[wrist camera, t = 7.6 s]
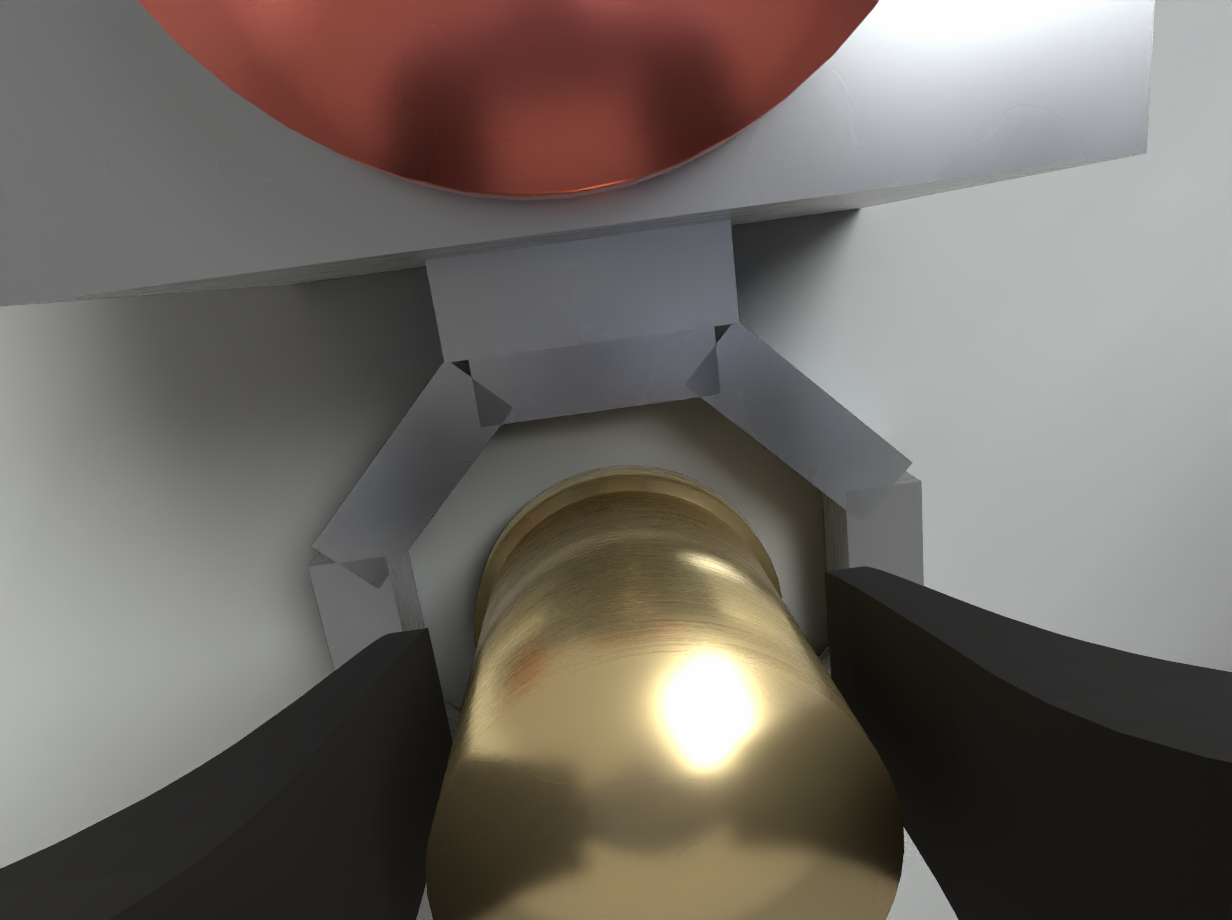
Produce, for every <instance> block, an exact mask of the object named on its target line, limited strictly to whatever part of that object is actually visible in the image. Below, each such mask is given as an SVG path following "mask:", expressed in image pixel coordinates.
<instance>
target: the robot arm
mask: <svg viewBox="0 0 1232 920" xmlns="http://www.w3.org/2000/svg"><path fill="white" fill-rule="evenodd" d="M825 583H826V599H827V616H828V633H829V650H830V666H831V679H832V680H833V682H834V684H835V685H836V687H837V688H838V690H839V692H840V693H841V695H842V696H843V698H844V700H845V701H846V703H847V704H848V706H849V708H850V709H851V711H852V712H853V714H854V716H855V717H856V719H857V720H858V722H859V724H860V725H861V727H862V728H863V730H864V732H865V733H866V735H867V736H868V738H869V740H870V741H871V743H872V744H873V746H874V748H875V749H876V751H877V753H878V754H879V756H880V758H881V760H882V762H883V763H884V765H885V767H886V769H887V771H888V772H889V774H890V777H891V780H892V783H893V785H894V788H895V791H896V794H897V796H898V799H899V805H900V810H901V815H902V820H903V826H904V828H905V830H906V831H907V833H908V834H909V836H910V838H911V839H912V841H913V843H914V844H915V846H916V847H917V849H918V851H919V852H920V854H921V856H922V857H923V859H924V860H925V862H926V864H927V865H928V867H929V869H930V870H931V872H932V873H933V875H934V877H935V878H936V880H937V882H938V883H939V885H940V887H941V889H942V890H943V892H944V894H945V896H946V898H947V899H948V901H949V903H950V905H951V907H952V908H953V910H954V912H955V914H956V915H957V917H958V919H959V920H1232V672H1227V671H1221V670H1216V669H1210V668H1204V667H1199V666H1193V665H1188V664H1182V663H1177V662H1171V661H1166V660H1161V659H1157V658H1152V657H1147V656H1142V655H1138V654H1133V653H1129V652H1125V651H1121V650H1117V649H1113V648H1109V647H1105V646H1101V645H1097V644H1094V643H1090V642H1086V641H1082V640H1078V639H1074V638H1071V637H1067V636H1064V635H1060V634H1057V633H1053V632H1050V631H1047V630H1044V629H1041V628H1038V627H1035V626H1032V625H1029V624H1026V623H1022V622H1019V621H1016V620H1013V619H1010V618H1007V617H1004V616H1001V615H999V614H996V613H993V612H990V611H987V610H985V609H982V608H979V607H977V606H974V605H971V604H969V603H966V602H963V601H961V600H958V599H955V598H953V597H950V596H948V595H945V594H943V593H940V592H938V591H935V590H932V589H930V588H927V587H925V586H922V585H920V584H917V583H915V582H912V581H910V580H907V579H904V578H902V577H899V576H896V575H894V574H891V573H888V572H885V571H882V570H879V569H876V568H872V567H868V566H862V567H855V568H848V569H840V570H833V571H826V572H825ZM452 744H453V741H452V736H451V732H450V727H449V722H448V718H447V713H446V708H445V704H444V699H443V695H442V690H441V685H440V681H439V676H438V672H437V667H436V662H435V658H434V653H433V649H432V644H431V639H430V635H429V630H428V628H424V629H417V630H410V631H402V632H395V633H388V634H386V635H384V636H382V637H380V638H379V639H377V640H376V641H374V642H373V643H371V644H370V645H368V646H367V647H366V648H364V649H363V650H361V651H360V652H359V653H357V654H356V655H355V656H353V657H352V658H351V659H350V660H348V661H347V662H346V663H344V664H343V665H342V666H340V667H339V668H338V669H337V670H335V671H334V672H333V673H331V674H330V675H329V676H328V677H326V678H325V679H324V680H322V681H321V682H320V683H318V684H317V685H316V686H314V687H313V688H312V689H311V690H309V691H308V692H307V693H305V694H304V695H303V696H301V697H300V698H299V699H298V700H296V701H295V702H294V703H292V704H291V705H289V706H288V707H286V708H285V709H284V710H282V711H281V712H279V713H278V714H277V715H275V716H274V717H272V718H271V719H270V720H268V721H267V722H265V723H264V724H263V725H261V726H260V727H258V728H257V729H255V730H254V731H253V732H251V733H250V734H248V735H247V736H246V737H244V738H243V739H241V740H240V741H239V742H237V743H236V744H234V745H233V746H231V747H230V748H228V749H226V750H225V751H223V752H222V753H220V754H219V755H217V756H216V757H214V758H212V759H211V760H209V761H208V762H206V763H205V764H203V765H201V766H200V767H198V768H196V769H195V770H193V771H191V772H190V773H188V774H186V775H184V776H183V777H181V778H179V779H178V780H176V781H174V782H173V783H171V784H169V785H168V786H166V787H164V788H163V789H161V790H159V791H157V792H155V793H154V794H152V795H150V796H148V797H146V798H145V799H143V800H141V801H139V802H137V803H135V804H133V805H131V806H129V807H127V808H125V809H123V810H121V811H119V812H117V813H115V814H113V815H111V816H109V817H108V818H106V819H104V820H102V821H100V822H98V823H96V824H94V825H92V826H90V827H88V828H86V829H84V830H82V831H80V832H78V833H76V834H74V835H72V836H71V837H69V838H67V839H65V840H63V841H60V842H58V843H56V844H54V845H52V846H50V847H48V848H46V849H43V850H41V851H39V852H37V853H34V854H32V855H30V856H28V857H26V858H23V859H21V860H19V861H17V862H15V863H12V864H10V865H8V866H6V867H4V868H1V869H0V920H416V918H417V915H418V911H419V907H420V904H421V900H422V896H423V893H424V889H425V885H426V858H427V847H428V840H429V836H430V832H431V828H432V824H433V820H434V816H435V812H436V808H437V804H438V800H439V796H440V792H441V788H442V784H443V780H444V776H445V772H446V768H447V764H448V760H449V756H450V752H451V748H452Z"/></svg>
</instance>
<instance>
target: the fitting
mask: <svg viewBox="0 0 1232 920" xmlns="http://www.w3.org/2000/svg"><path fill="white" fill-rule="evenodd" d="M474 635H475V644H476V653H475V657H474V661H473V665H472V669H471V673H470V677H469V681H468V685H467V689H466V693H465V697H464V701H463V705H462V709H461V713H460V717H459V721H458V725H457V729H456V733H455V736H454V740H453V744H452V748H451V752H450V756H449V760H448V764H447V768H446V772H445V776H444V780H443V784H442V788H441V792H440V796H439V800H438V804H437V808H436V812H435V816H434V820H433V824H432V828H431V832H430V836H429V840H428V847H427V858H426V882H427V895H428V900H429V904H430V908H431V912H432V916H433V920H886V918H887V915H888V913H889V911H890V909H891V906H892V904H893V902H894V899H895V895H896V892H897V888H898V884H899V881H900V877H901V871H902V863H903V855H904V831H903V820H902V815H901V810H900V805H899V799H898V796H897V794H896V791H895V788H894V785H893V783H892V780H891V777H890V774H889V772H888V771H887V769H886V767H885V765H884V763H883V762H882V760H881V758H880V756H879V754H878V753H877V751H876V749H875V748H874V746H873V744H872V743H871V741H870V740H869V738H868V736H867V735H866V733H865V732H864V730H863V728H862V727H861V725H860V724H859V722H858V720H857V719H856V717H855V716H854V714H853V712H852V711H851V709H850V708H849V706H848V704H847V703H846V701H845V700H844V698H843V696H842V695H841V693H840V692H839V690H838V688H837V687H836V685H835V684H834V682H833V680H832V679H831V677H830V676H829V674H828V672H827V671H826V669H825V668H824V666H823V664H822V663H821V661H820V660H819V658H818V656H817V655H816V653H815V652H814V650H813V648H812V647H811V645H810V644H809V642H808V640H807V639H806V637H805V635H804V634H803V632H802V631H801V629H800V627H799V626H798V624H797V623H796V621H795V619H794V618H793V616H792V615H791V613H790V611H789V610H788V608H787V607H786V605H785V603H784V602H783V600H782V595H781V590H780V586H779V581H778V577H777V575H776V572H775V570H774V567H773V564H772V562H771V560H770V558H769V556H768V554H767V552H766V551H765V549H764V547H763V545H762V544H761V542H760V541H759V539H758V538H757V536H756V535H755V533H754V532H753V530H752V529H751V527H750V526H749V525H748V523H747V522H746V521H745V520H744V518H743V517H742V516H741V514H740V513H739V512H738V511H737V510H736V509H735V508H734V507H733V506H732V505H731V504H730V503H729V502H728V501H727V500H725V499H724V498H723V497H721V496H720V495H719V494H717V493H716V492H715V491H713V490H712V489H710V488H709V487H707V486H705V485H703V484H701V483H700V482H698V481H696V480H694V479H691V478H689V477H686V476H684V475H681V474H679V473H676V472H672V471H668V470H664V469H660V468H654V467H645V466H613V467H606V468H599V469H595V470H591V471H587V472H584V473H580V474H577V475H575V476H572V477H570V478H567V479H565V480H563V481H560V482H558V483H557V484H555V485H553V486H551V487H550V488H548V489H546V490H544V491H543V492H541V493H540V494H539V495H537V496H536V497H535V498H533V499H532V500H531V501H529V502H528V503H527V504H526V505H525V506H524V507H523V508H522V509H521V510H520V511H519V512H518V513H517V514H516V515H515V516H514V517H513V518H512V519H511V521H510V522H509V523H508V525H507V526H506V527H505V528H504V530H503V531H502V533H501V534H500V536H499V538H498V540H497V541H496V543H495V545H494V546H493V548H492V551H491V553H490V556H489V558H488V561H487V563H486V566H485V570H484V573H483V576H482V580H481V583H480V587H479V591H478V595H477V599H476V604H475V615H474Z"/></svg>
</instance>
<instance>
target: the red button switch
mask: <svg viewBox="0 0 1232 920" xmlns="http://www.w3.org/2000/svg"><path fill="white" fill-rule="evenodd" d="M1154 5H1155V0H0V306H12V305H25V304H38V303H52V302H65V301H78V300H91V299H105V298H118V297H131V296H144V295H157V294H171V293H184V292H197V291H210V290H224V289H237V288H250V287H263V286H277V285H290V284H297V283H305V282H312V281H320V280H327V279H335V278H342V277H350V276H357V275H365V274H372V273H379V272H387V271H394V270H402V269H409V268H417V267H424V266H426V269H427V274H428V279H429V285H430V290H431V295H432V300H433V306H434V311H435V316H436V321H437V327H438V332H439V337H440V342H441V348H442V353H443V358H444V362H443V363H442V365H441V366H440V367H439V369H438V370H437V372H436V373H435V374H434V376H433V377H432V379H431V380H430V381H429V383H428V384H427V386H426V387H425V388H424V390H423V391H422V393H421V394H420V395H419V397H418V398H417V400H416V401H415V402H414V404H413V405H412V407H411V408H410V409H409V411H408V412H407V414H406V415H405V416H404V418H403V419H402V421H401V422H400V423H399V425H398V426H397V428H396V429H395V430H394V432H393V433H392V435H391V436H390V437H389V439H388V440H387V442H386V443H385V444H384V446H383V447H382V449H381V450H380V451H379V453H378V454H377V456H376V457H375V458H374V460H373V461H372V463H371V464H370V465H369V467H368V468H367V470H366V471H365V472H364V474H363V475H362V477H361V478H360V479H359V481H358V482H357V484H356V485H355V486H354V488H353V489H352V491H351V492H350V493H349V495H348V496H347V498H346V499H345V500H344V502H343V503H342V505H341V506H340V507H339V509H338V510H337V512H336V513H335V514H334V516H333V517H332V519H331V520H330V521H329V523H328V524H327V526H326V527H325V528H324V530H323V531H322V533H321V534H320V535H319V537H318V538H317V540H316V541H315V542H314V544H313V545H312V547H313V548H314V549H316V550H318V551H319V552H321V553H320V554H319V555H318V556H317V557H316V558H315V560H314V561H313V562H312V563H311V564H310V565H309V566H308V570H309V574H310V578H311V582H312V585H313V589H314V593H315V597H316V601H317V605H318V609H319V613H320V616H321V620H322V624H323V628H324V632H325V636H326V640H327V644H328V647H329V651H330V655H331V659H332V663H333V667H334V671H335V670H337V669H338V668H339V667H340V666H342V665H343V664H344V663H346V662H347V661H348V660H350V659H351V658H352V657H353V656H355V655H356V654H357V653H359V652H360V651H361V650H363V649H364V648H366V647H367V646H368V645H370V644H371V643H373V642H374V641H376V640H377V639H379V638H380V637H382V636H384V635H386V634H388V633H395V632H402V631H410V630H417V629H424V623H423V619H422V614H421V609H420V605H419V600H418V596H417V591H416V587H415V582H414V577H413V573H412V568H411V564H410V559H409V554H408V549H409V548H410V546H411V545H412V544H413V542H414V541H415V540H416V538H417V537H418V536H419V534H420V533H421V532H422V530H423V529H424V528H425V526H426V525H427V524H428V522H429V521H430V520H431V518H432V517H433V516H434V514H435V513H436V512H437V510H438V509H439V508H440V506H441V505H442V504H443V502H444V501H445V499H446V498H447V497H448V495H449V494H450V493H451V491H452V490H453V489H454V487H455V486H456V485H457V483H458V482H459V481H460V479H461V478H462V477H463V475H464V474H465V473H466V471H467V470H468V469H469V467H470V466H471V465H472V463H473V462H474V461H475V459H476V458H477V457H478V455H479V454H480V453H481V451H482V450H483V448H484V447H485V446H486V444H487V443H488V442H489V440H490V439H491V438H492V436H493V435H494V434H495V432H496V431H497V430H498V428H499V427H500V426H501V424H509V423H516V422H523V421H530V420H538V419H545V418H552V417H560V416H567V415H574V414H581V413H589V412H596V411H603V410H610V409H618V408H625V407H632V406H640V405H647V404H654V403H661V402H669V401H676V400H683V399H690V398H698V397H701V398H702V399H703V400H705V401H706V402H707V403H708V404H710V405H711V406H712V407H714V408H715V409H716V410H717V411H719V412H720V413H721V414H723V415H724V416H725V417H726V418H728V419H729V420H730V421H732V422H733V423H734V424H735V425H737V426H738V427H739V428H741V429H742V430H743V431H745V432H746V433H747V434H748V435H750V436H751V437H752V438H754V439H755V440H756V441H757V442H759V443H760V444H761V445H763V446H764V447H765V448H766V449H768V450H769V451H770V452H772V453H773V454H774V455H775V456H777V457H778V458H779V459H781V460H782V461H783V462H785V463H786V464H787V465H788V466H790V467H791V468H792V469H794V470H795V471H796V472H797V473H799V474H800V475H801V476H803V477H804V478H805V479H806V480H808V481H809V482H810V483H812V484H813V485H814V486H815V487H817V488H818V489H819V490H821V491H822V496H823V513H824V530H825V547H826V564H827V571H833V570H840V569H848V568H855V567H862V566H868V567H872V568H876V569H879V570H882V571H885V572H888V573H891V574H894V575H896V576H899V577H902V578H904V579H907V580H910V581H912V582H915V583H917V584H920V585H922V586H924V579H923V534H922V488H921V481H920V480H919V479H917V478H915V477H914V476H912V475H911V474H909V473H908V472H906V470H907V468H908V467H909V466H910V465H911V464H912V462H911V461H910V460H908V459H907V458H906V457H905V456H904V455H902V454H901V453H900V452H899V451H897V450H896V449H895V448H894V447H892V446H891V445H890V444H889V443H888V442H886V441H885V440H884V439H883V438H881V437H880V436H879V435H878V434H876V433H875V432H874V431H873V430H871V429H870V428H869V427H868V426H867V425H865V424H864V423H863V422H862V421H860V420H859V419H858V418H857V417H855V416H854V415H853V414H852V413H851V412H849V411H848V410H847V409H846V408H844V407H843V406H842V405H841V404H839V403H838V402H837V401H836V400H835V399H833V398H832V397H831V396H830V395H828V394H827V393H826V392H825V391H823V390H822V389H821V388H820V387H819V386H817V385H816V384H815V383H814V382H812V381H811V380H810V379H809V378H807V377H806V376H805V375H804V374H803V373H801V372H800V371H799V370H798V369H796V368H795V367H794V366H793V365H791V364H790V363H789V362H788V361H786V360H785V359H784V358H783V357H782V356H780V355H779V354H778V353H777V352H775V351H774V350H773V349H772V348H770V347H769V346H768V345H767V344H766V343H764V342H763V341H762V340H761V339H759V338H758V337H757V336H756V335H754V334H753V333H752V332H751V331H750V330H748V329H747V328H746V327H745V326H743V325H742V324H741V323H740V322H739V313H738V301H737V289H736V277H735V265H734V253H733V242H732V230H731V225H738V224H745V223H753V222H760V221H768V220H775V219H783V218H790V217H797V216H805V215H812V214H820V213H827V212H835V211H842V210H850V209H857V208H864V207H869V206H874V205H880V204H885V203H890V202H895V201H900V200H906V199H911V198H916V197H921V196H926V195H932V194H937V193H942V192H947V191H952V190H957V189H963V188H968V187H973V186H978V185H983V184H989V183H994V182H999V181H1004V180H1009V179H1015V178H1020V177H1025V176H1030V175H1035V174H1040V173H1046V172H1051V171H1056V170H1061V169H1066V168H1072V167H1077V166H1082V165H1087V164H1092V163H1098V162H1103V161H1108V160H1113V159H1118V158H1123V157H1129V156H1134V155H1139V154H1144V153H1146V151H1147V133H1148V115H1149V96H1150V78H1151V60H1152V42H1153V23H1154ZM818 658H819V660H820V661H821V663H822V664H823V666H824V668H825V669H826V671H827V672H828V674H829V676H830V677H831V666H830V650H829V645H828V646H827V648H826V649H825V650H824V651H823V652H822V653H821V654H820V655H819V656H818ZM444 704H445V708H446V713H447V718H448V722H449V727H450V732H451V736H452V741H453V740H454V736H455V733H456V729H457V725H458V721H459V717H460V713H461V711H460V710H458V709H456V708H455V707H453V706H451V705H450V704H448V703H447V702H445V701H444Z"/></svg>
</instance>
